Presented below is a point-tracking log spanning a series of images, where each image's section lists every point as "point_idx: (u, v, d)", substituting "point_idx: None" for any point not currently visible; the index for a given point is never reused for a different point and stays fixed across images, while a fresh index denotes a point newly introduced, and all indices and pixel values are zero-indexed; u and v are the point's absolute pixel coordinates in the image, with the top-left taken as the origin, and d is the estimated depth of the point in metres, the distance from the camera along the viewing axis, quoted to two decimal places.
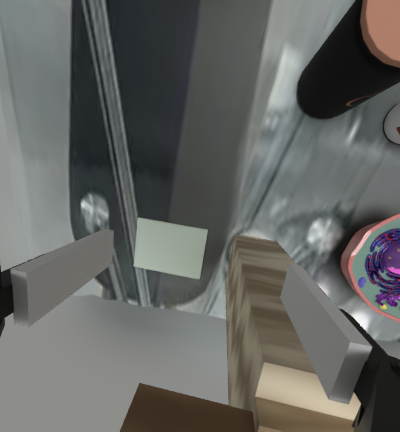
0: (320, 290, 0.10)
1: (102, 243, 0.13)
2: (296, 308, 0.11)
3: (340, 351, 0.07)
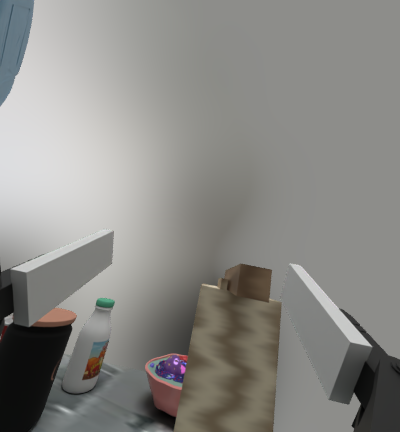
0: (320, 290, 0.10)
1: (102, 242, 0.13)
2: (296, 308, 0.11)
3: (340, 351, 0.07)
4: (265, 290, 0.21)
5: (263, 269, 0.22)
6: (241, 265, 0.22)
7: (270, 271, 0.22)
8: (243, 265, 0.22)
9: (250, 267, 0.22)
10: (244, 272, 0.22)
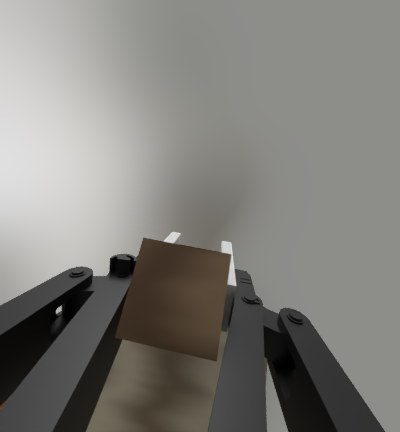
0: None
1: None
2: None
3: None
4: (208, 318, 0.07)
5: (207, 253, 0.07)
6: (144, 243, 0.07)
7: (227, 259, 0.07)
8: (150, 243, 0.07)
9: (169, 248, 0.07)
10: (150, 263, 0.07)
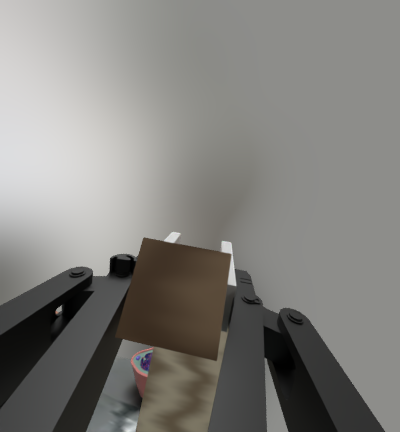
0: (231, 257, 0.13)
1: None
2: None
3: None
4: (208, 318, 0.07)
5: (207, 253, 0.07)
6: (144, 242, 0.07)
7: (227, 258, 0.07)
8: (150, 242, 0.07)
9: (169, 248, 0.07)
10: (150, 262, 0.07)
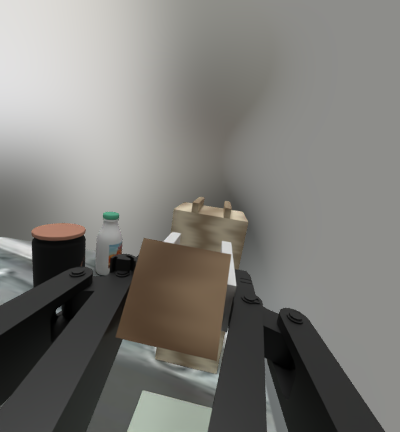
0: (231, 257, 0.13)
1: None
2: None
3: None
4: (208, 318, 0.07)
5: (207, 253, 0.07)
6: (145, 243, 0.08)
7: (227, 259, 0.07)
8: (150, 243, 0.08)
9: (170, 248, 0.07)
10: (150, 263, 0.07)
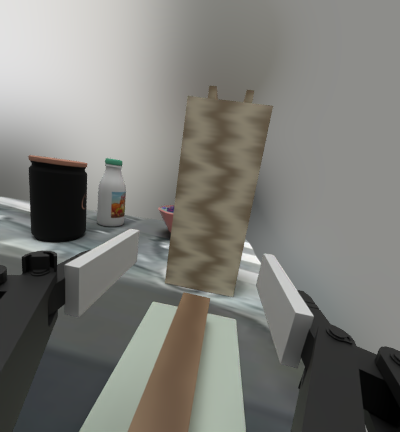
0: (284, 274, 0.11)
1: (131, 241, 0.14)
2: (265, 292, 0.12)
3: (289, 321, 0.08)
4: None
5: None
6: None
7: None
8: None
9: None
10: None
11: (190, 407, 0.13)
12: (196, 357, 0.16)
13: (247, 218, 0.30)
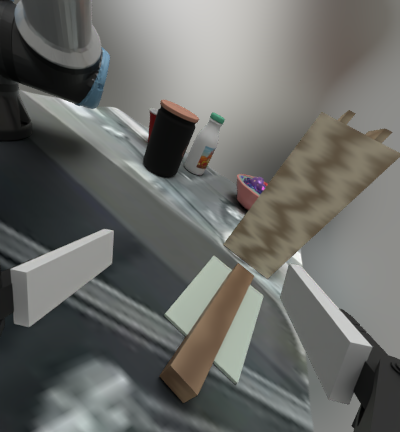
0: (320, 290, 0.10)
1: (102, 243, 0.13)
2: (296, 308, 0.11)
3: (340, 351, 0.07)
4: (184, 396, 0.19)
5: (189, 387, 0.18)
6: (170, 366, 0.19)
7: (195, 394, 0.18)
8: (172, 368, 0.19)
9: (178, 375, 0.18)
10: (171, 372, 0.19)
11: (228, 328, 0.24)
12: (236, 307, 0.27)
13: (312, 234, 0.34)
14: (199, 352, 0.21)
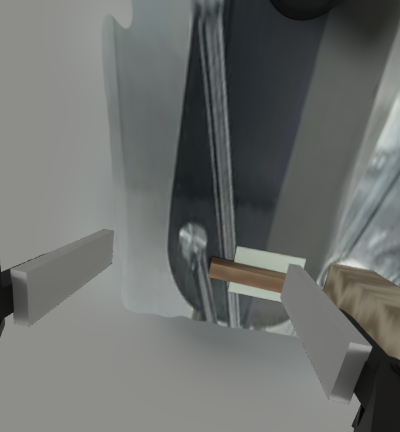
0: (320, 290, 0.10)
1: (102, 242, 0.13)
2: (296, 308, 0.11)
3: (340, 351, 0.07)
4: (209, 270, 0.46)
5: (209, 272, 0.44)
6: (211, 263, 0.44)
7: None
8: None
9: (210, 267, 0.44)
10: (211, 263, 0.44)
11: (242, 284, 0.44)
12: (258, 286, 0.43)
13: None
14: (222, 272, 0.44)
